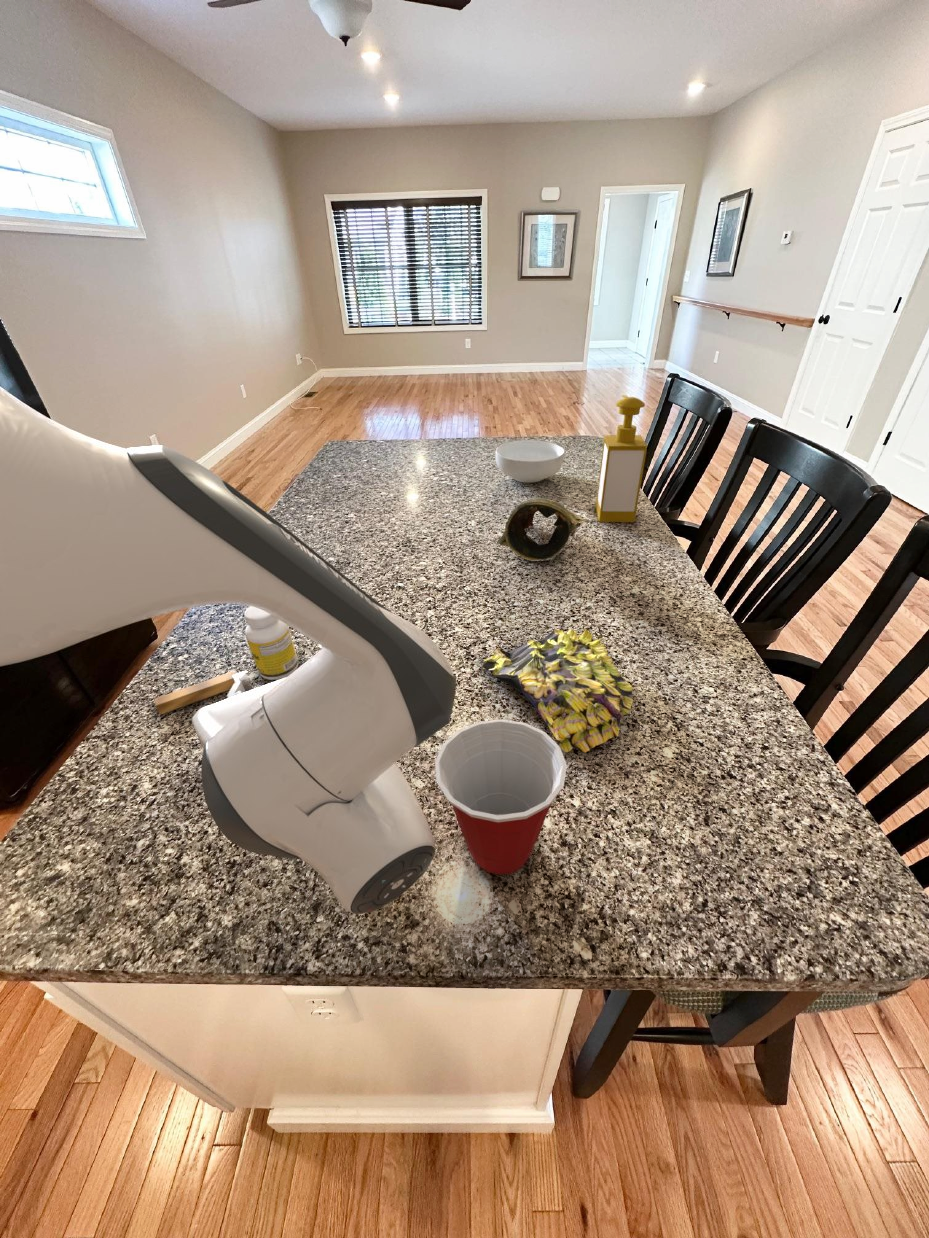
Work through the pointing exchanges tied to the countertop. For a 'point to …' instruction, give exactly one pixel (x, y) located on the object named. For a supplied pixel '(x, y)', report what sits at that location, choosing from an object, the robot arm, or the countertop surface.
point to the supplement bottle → (270, 644)
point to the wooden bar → (194, 693)
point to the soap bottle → (621, 467)
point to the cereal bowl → (529, 460)
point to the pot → (524, 519)
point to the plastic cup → (500, 788)
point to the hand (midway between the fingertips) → (284, 662)
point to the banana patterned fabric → (568, 686)
